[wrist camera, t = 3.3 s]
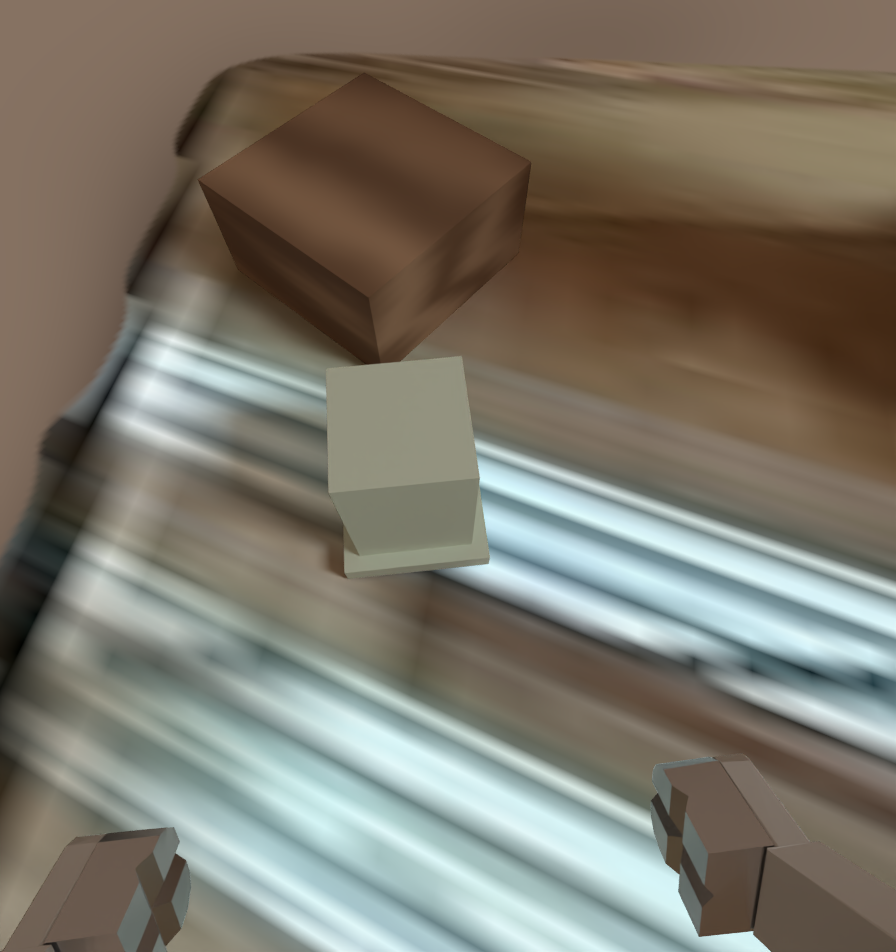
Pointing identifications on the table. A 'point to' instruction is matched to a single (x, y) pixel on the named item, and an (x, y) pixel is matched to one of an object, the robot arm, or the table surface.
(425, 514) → the sage block
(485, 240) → the walnut riser
